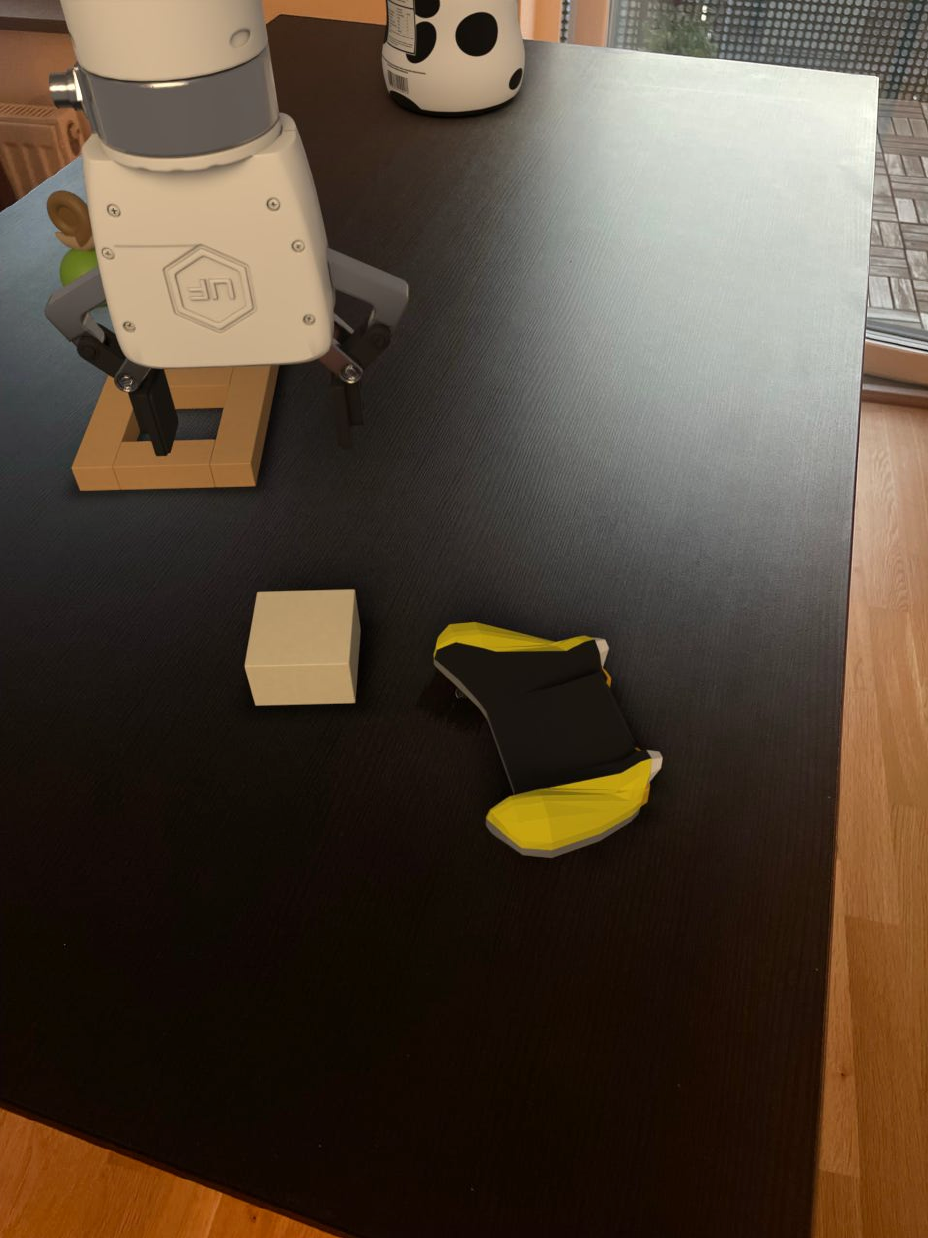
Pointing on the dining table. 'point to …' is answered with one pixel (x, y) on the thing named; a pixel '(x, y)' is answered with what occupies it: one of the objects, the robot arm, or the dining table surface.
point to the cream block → (304, 647)
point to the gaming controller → (550, 736)
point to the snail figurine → (73, 234)
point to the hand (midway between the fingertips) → (257, 436)
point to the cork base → (192, 463)
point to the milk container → (452, 55)
